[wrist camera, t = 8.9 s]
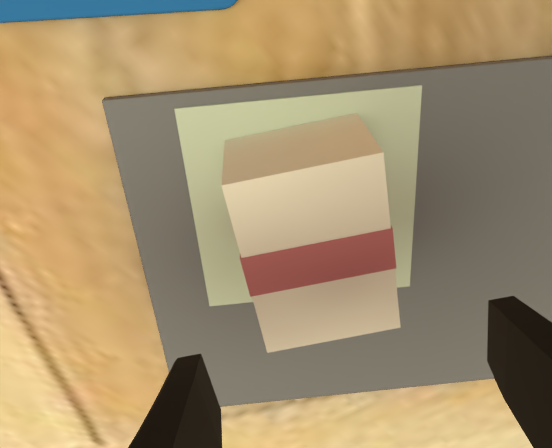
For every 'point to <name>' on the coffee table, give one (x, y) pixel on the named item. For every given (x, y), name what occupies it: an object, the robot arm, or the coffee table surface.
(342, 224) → the card deck
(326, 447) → the coffee table surface
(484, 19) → the coffee table surface
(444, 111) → the mat
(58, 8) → the handheld gaming device
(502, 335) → the robot arm
